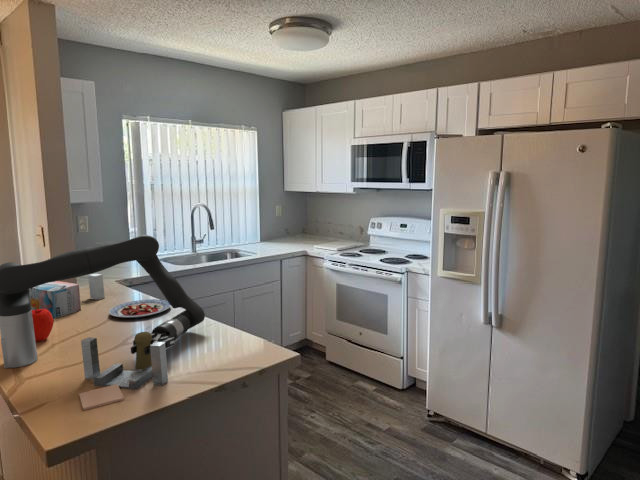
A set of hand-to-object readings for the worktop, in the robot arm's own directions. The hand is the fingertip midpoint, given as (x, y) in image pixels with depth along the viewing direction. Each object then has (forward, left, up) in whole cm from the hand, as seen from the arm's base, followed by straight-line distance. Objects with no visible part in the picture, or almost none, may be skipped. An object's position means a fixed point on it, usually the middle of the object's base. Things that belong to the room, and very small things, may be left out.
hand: (138, 351), depth 145 cm
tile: (-13, -13, -6) cm, 19 cm away
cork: (+2, +2, -6) cm, 7 cm away
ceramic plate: (+13, +64, -7) cm, 66 cm away
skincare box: (0, +101, -6) cm, 101 cm away
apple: (-26, +50, -6) cm, 57 cm away
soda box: (-24, +97, -7) cm, 101 cm away
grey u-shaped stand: (-5, -5, -6) cm, 9 cm away
